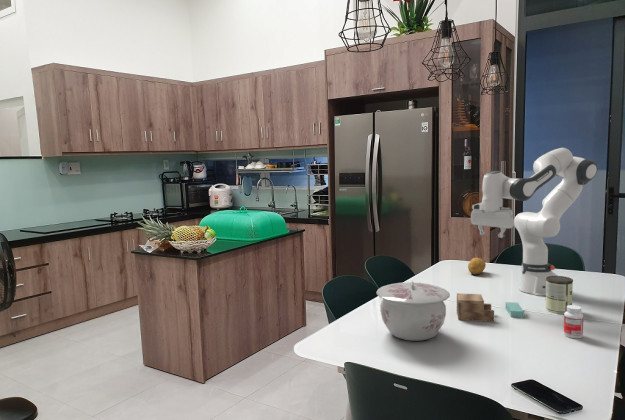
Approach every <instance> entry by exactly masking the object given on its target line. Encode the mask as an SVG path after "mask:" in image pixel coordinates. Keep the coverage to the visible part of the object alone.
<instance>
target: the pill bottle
mask: <svg viewBox="0 0 625 420" xmlns="http://www.w3.org/2000/svg"><path fill="white" fill-rule="evenodd" d="M563 315H564V316H563V335H564V336H565V337H568V338H570V339H580V338H583V336H584V335H583V334H584V314H583V313H582V307H581V306H579V305H575V304H572V305H568V306H567V311H566V312H565V313H564V314H563Z"/></svg>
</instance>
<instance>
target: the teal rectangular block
mask: <svg viewBox="0 0 625 420" xmlns="http://www.w3.org/2000/svg"><path fill="white" fill-rule="evenodd" d="M504 308H505V310H506V312H507V313H508V315H509V317H511V318H522V319H524V317H525V313H524V312H525V311H524V309H523V308H522V307H521V305H520V303H518V302H512V301H511V302H510V301H505V307H504Z"/></svg>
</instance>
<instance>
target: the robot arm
mask: <svg viewBox="0 0 625 420" xmlns="http://www.w3.org/2000/svg"><path fill="white" fill-rule="evenodd" d="M532 169H533V172H534V174H533V175H531V176H530V177H527V178H525V177H524V178H522V177H521V178H513V177H512V178H511V177H509V176H506V175H505V174H504V173H503V172H502V171H500V170H492V171H489V172H486V173H485V174H484V176H483V179H482V187H481V188H482V189H481V190H482V199H481V202H478V203H476V204H472V206H471V208H472V211H471V213H470V222H471V224H472V225H473V226H474V225H475V226H476V225H477V229H478V230H479V235H480V236H484V235H486V231H485V230H484V229H483V227H491V228H500V229H499V230H500V232H499V233H497V237H498V238H503V237H504V233H505V232H506V230H507V229H513V228H515V229H516V230H517V231H518V234H519V236H520V239H521V243H522V262H521V281H520V283H519V287H518V290H519V291H521V292H523V293H526V294H531V295H535V296H537V297H539V296H542V297H543V296H545V297H546V277H548V276H559V275H558V274H557V273H556V272H554V270H555V269H556V267H555V266H554V265H553V264H550V263H548V259H549V258H548V257H549V256H548V255H549V249H548V246H547V244H546V243H545V242H544V239H543V238H551V237H552V238H553V237H555V236H557V235H558V234H559V232H560V230H561V223H560V220H561V218H562V216H563V214H564V213H565V212H566V211H568V209H569V208H570V207H571V205H573V203H574V202H575V201H576V200H577V198H578V197H579V196H580V194H581V193H582V191H583V187H584V186H585V185H587V184H588V183H589V182H591V181H592V180H593V179H594V178H595V177H596V176H597V173H598V166H597V163H596V162H595V161H593V160H591V159H589V158H583V157H580V156H574V155H573V153H572V151H570V149H568V148H567V147H560V148H556V149H553V150H550V151H548V152H546V153H544V154H542V155H541V156H539V157H538V158H537V159H536V160H535V161H534V162H533V167H532ZM555 176H557V177H562V179H561V181H560V182H559V183H558V184H557V185H556V186H555V187H554V188H553V189H552V190H551V191H550V192H549V193H548V194H547V195H546V196H545V197H544V198H543V199H542V202H541V204H542V208H541V210H540V211H538V212H534V211H533V212H531V211H524V212H520V213H517V214H516V216H515V217H514V211H513V209H512V208H511V207H504V206H503V202H504V201H503V199H508V200H515V201H520V202H526V201H528V200H530V199H531V198H532V197H533V195H534V194H535V193H536V192H537V191H538V190H539V189H540V188H542V187H543V186H544V185H546V184H547V183H548V182H550V181H552V179H554V178H555Z"/></svg>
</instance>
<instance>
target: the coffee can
mask: <svg viewBox="0 0 625 420" xmlns="http://www.w3.org/2000/svg"><path fill="white" fill-rule="evenodd" d="M573 284H574V279H573V278H571V277H569V276H563V275H558V276H548V277H546V296H545V310H546V311H548V312H550V313H551V314H552V313H553V314H558V315H559V314H560V315H564V313H565V312H566V311H567V306H568V305H573Z"/></svg>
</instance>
